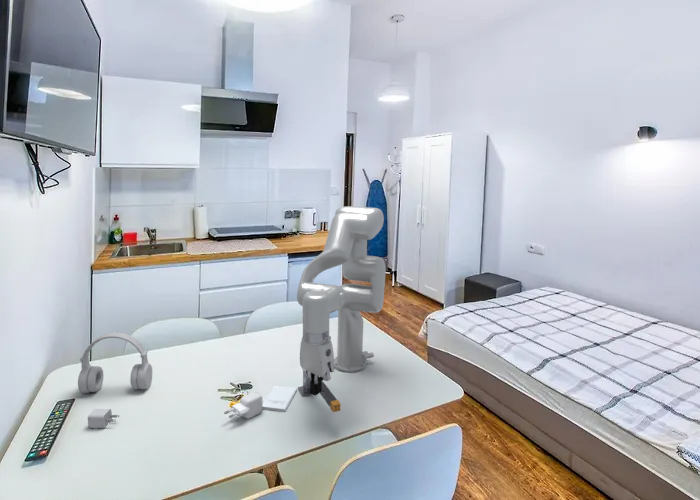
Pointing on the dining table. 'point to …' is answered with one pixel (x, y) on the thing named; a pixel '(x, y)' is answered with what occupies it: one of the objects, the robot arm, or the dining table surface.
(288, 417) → the dining table surface
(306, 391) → the post
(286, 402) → the external hard drive
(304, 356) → the robot arm
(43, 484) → the dining table surface
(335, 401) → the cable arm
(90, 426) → the usb wall charger
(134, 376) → the headphones
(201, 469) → the dining table surface
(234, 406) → the power adapter
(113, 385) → the dining table surface
